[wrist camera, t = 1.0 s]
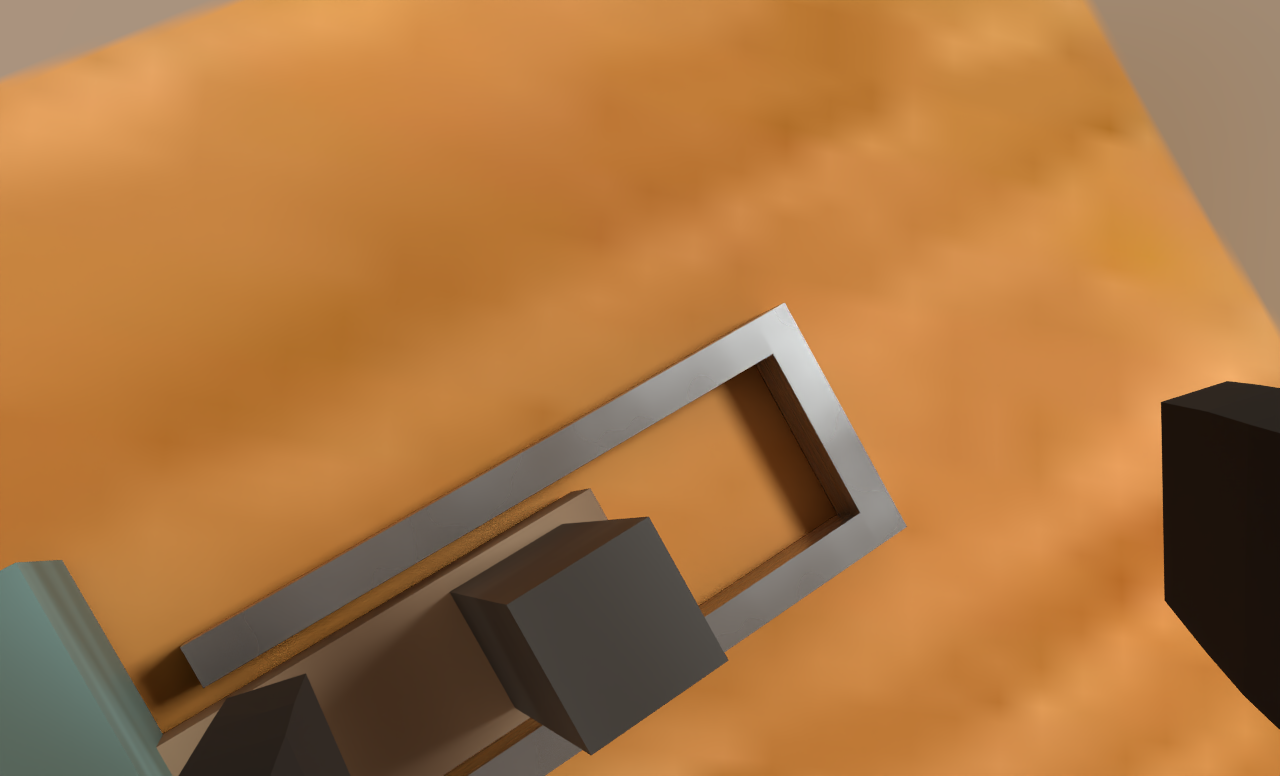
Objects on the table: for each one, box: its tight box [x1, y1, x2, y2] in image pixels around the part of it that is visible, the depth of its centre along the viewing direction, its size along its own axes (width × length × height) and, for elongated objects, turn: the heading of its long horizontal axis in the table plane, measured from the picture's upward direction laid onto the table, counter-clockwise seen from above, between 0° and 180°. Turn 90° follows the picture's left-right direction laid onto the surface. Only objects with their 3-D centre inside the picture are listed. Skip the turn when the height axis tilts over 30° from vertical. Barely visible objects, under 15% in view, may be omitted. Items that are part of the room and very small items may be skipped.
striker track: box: [180, 303, 907, 776], centre depth 22 cm, size 13×5×1 cm, turn 121°
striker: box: [0, 489, 728, 776], centre depth 18 cm, size 10×10×6 cm
